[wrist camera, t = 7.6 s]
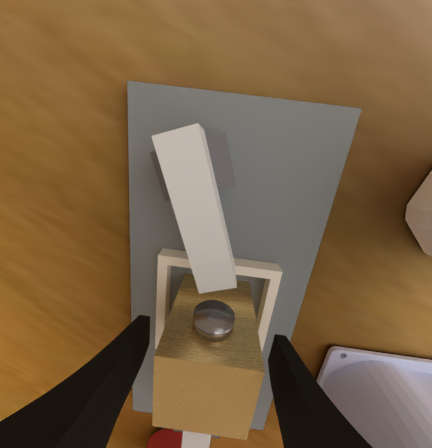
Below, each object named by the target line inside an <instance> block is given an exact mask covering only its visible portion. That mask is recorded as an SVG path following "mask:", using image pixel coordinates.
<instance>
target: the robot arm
mask: <svg viewBox="0 0 432 448" xmlns="http://www.w3.org/2000/svg"><path fill="white" fill-rule="evenodd" d="M149 344H150V316H145V315H139V316H137V318H136V319H135V320H134V321H133V322H132V323H131V324H130V325H129V326H128V327H127V328H126V329H125V330H124V331H122V332H121V333H120V334H119V335H118V336H117V337H116V338H115V339H114V340H113V341H112V342H111V343H110V344H109V345H108V346H106V347H105V348H104V349H103V350H102V351H101V352H99V353H98V354H97V355H96V356H95V357H94V358H92V359H91V360H90V361H89V362H88V363H86V364H85V365H84V366H83V367H81V368H80V369H79V370H77V371H76V372H75V373H73V374H72V375H71V376H69V377H68V378H67V379H65V380H64V381H63V382H61V383H60V384H58V385H57V386H55V387H54V388H53V389H51V390H50V391H48V392H47V393H45V394H44V395H42V396H41V397H39V398H38V399H36V400H34V401H33V402H31V403H30V404H28V405H26V406H25V407H23V408H22V409H20V410H18V411H17V412H15V413H14V414H12V415H10V416H9V417H7V418H5V419H4V420H2V421H0V448H106V446H107V443H108V441H109V438H110V435H111V433H112V430H113V428H114V425H115V422H116V420H117V418H118V415H119V413H120V411H121V409H122V406H123V404H124V402H125V400H126V398H127V396H128V394H129V392H130V389H131V387H132V385H133V383H134V381H135V379H136V377H137V374H138V372H139V370H140V368H141V366H142V364H143V361H144V358H145V355H146V352H147V350H148V347H149ZM268 368H269V376H270V383H271V388H272V393H273V398H274V402H275V407H276V411H277V416H278V420H279V425H280V430H281V434H282V439H283V445H284V448H432V360H429V359H422V358H415V357H408V356H401V355H394V354H387V353H380V352H373V351H366V350H359V349H352V348H345V347H338V346H333V347H331V348H330V349H329V350H328V352H327V355H326V357H325V360H324V363H323V365H322V368H321V370H320V373H319V375H318V378H317V380H315V378H314V377H313V376H312V374H311V373H310V371H309V370H308V368H307V367H306V366H305V364H304V363H303V361H302V360H301V358H300V357H299V355H298V354H297V352H296V351H295V349H294V347H293V346H292V344H291V343H290V341H289V340H288V338H287V337H286V336H285V335H278V334H275V336H274V339H273V343H272V347H271V350H270V354H269V358H268Z"/></svg>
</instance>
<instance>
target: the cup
mask: <svg viewBox="0 0 432 448" xmlns="http://www.w3.org/2000/svg"><path fill="white" fill-rule="evenodd" d="M405 220H406V222H407V224H408V226H409V227H410V229H411V231H412V233H413V234H414V236H415V238H416V239H417V241H418V243H419V245H420V246H421V248H422V250H423V252H424V253H426V254H427V255H429V256H431V257H432V170H431V172H430V173H429V175H428V176H427V177H426V179H425V180H424V182H423V183H422V184H421V186H420V187H419V189H418V190H417V191H416V193H415V194H414V196H413V197H412V198H411V200H410V201H409V203H408V204H407V208H406V215H405Z"/></svg>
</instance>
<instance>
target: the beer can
mask: <svg viewBox="0 0 432 448" xmlns="http://www.w3.org/2000/svg"><path fill="white" fill-rule="evenodd" d="M182 437H183V433H181V432H175V431H173V429H169V428H162V429H159V430H157V431H156V432H155V433H154V434H153V435H152V436H151V437H150V438H149V440H148V443H147V446H146V448H181V446H182Z"/></svg>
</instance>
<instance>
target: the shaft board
mask: <svg viewBox="0 0 432 448" xmlns="http://www.w3.org/2000/svg"><path fill="white" fill-rule="evenodd" d="M127 94H128V153H129V212H130V270H131V323H132V322H133V321H134V320H135V319H136V318H137V316H139V315H145V316H150V344H149V347H148V350H147V352H146V355H145V358H144V361H143V364H142V366H141V368H140V370H139V372H138V374H137V377H136V379H135V381H134V383H133V385H132V388H133V410H134V411H140V412H147V413H153V372H154V354H155V352H156V349H157V346H158V344H159V341H160V338H161V336H162V333H163V331H164V328H165V325H166V323H167V320H168V317H169V315H170V312H171V310H172V307H173V304H174V302H175V299H176V296H177V294H178V291H179V289H180V286H181V283H182V281H183V278H184V275H185V274H192V275H194V279H195V282H196V285H197V289H198V292H199V294H200V293H206V292H213V291H219V290H225V289H231V288H237V282H236V280H237V281H245V282H250V287H251V293H252V299H253V305H254V311H255V316H256V322H257V328H258V334H259V340H260V346H261V351H262V357H263V363H264V369H265V374H264V377H263V381H262V385H261V389H260V392H259V396H258V400H257V404H256V407H255V411H254V415H253V419H252V423H251V426H250V428H252V429H258V430H263V428H264V425H265V422H266V418H267V415H268V412H269V409H270V405H271V402H272V399H273V393H272V388H271V383H270V376H269V368H268V358H269V354H270V350H271V347H272V343H273V339H274V336H275V334H278V335H285V336H286V337H287V338H288V340H289V341H291V337H292V334H293V331H294V328H295V324H296V321H297V318H298V315H299V311H300V308H301V305H302V302H303V298H304V295H305V292H306V289H307V285H308V282H309V279H310V276H311V272H312V269H313V266H314V263H315V259H316V256H317V253H318V250H319V246H320V243H321V240H322V237H323V233H324V230H325V227H326V224H327V220H328V217H329V214H330V211H331V207H332V204H333V201H334V198H335V194H336V191H337V188H338V185H339V181H340V178H341V175H342V172H343V169H344V165H345V162H346V159H347V156H348V152H349V149H350V146H351V143H352V139H353V136H354V133H355V130H356V126H357V123H358V120H359V117H360V113H361V110H362V108H354V107H346V106H338V105H329V104H321V103H312V102H304V101H296V100H287V99H279V98H270V97H262V96H253V95H245V94H237V93H228V92H220V91H211V90H203V89H194V88H186V87H178V86H169V85H161V84H152V83H144V82H136V81H127ZM173 431H175V432H181V433H183V437H182V446H181V448H209V446H210V440H211V437H213V438H219V436H215V435H209V434H202V433H196V432H189V431H182V430H176V429H173Z"/></svg>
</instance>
